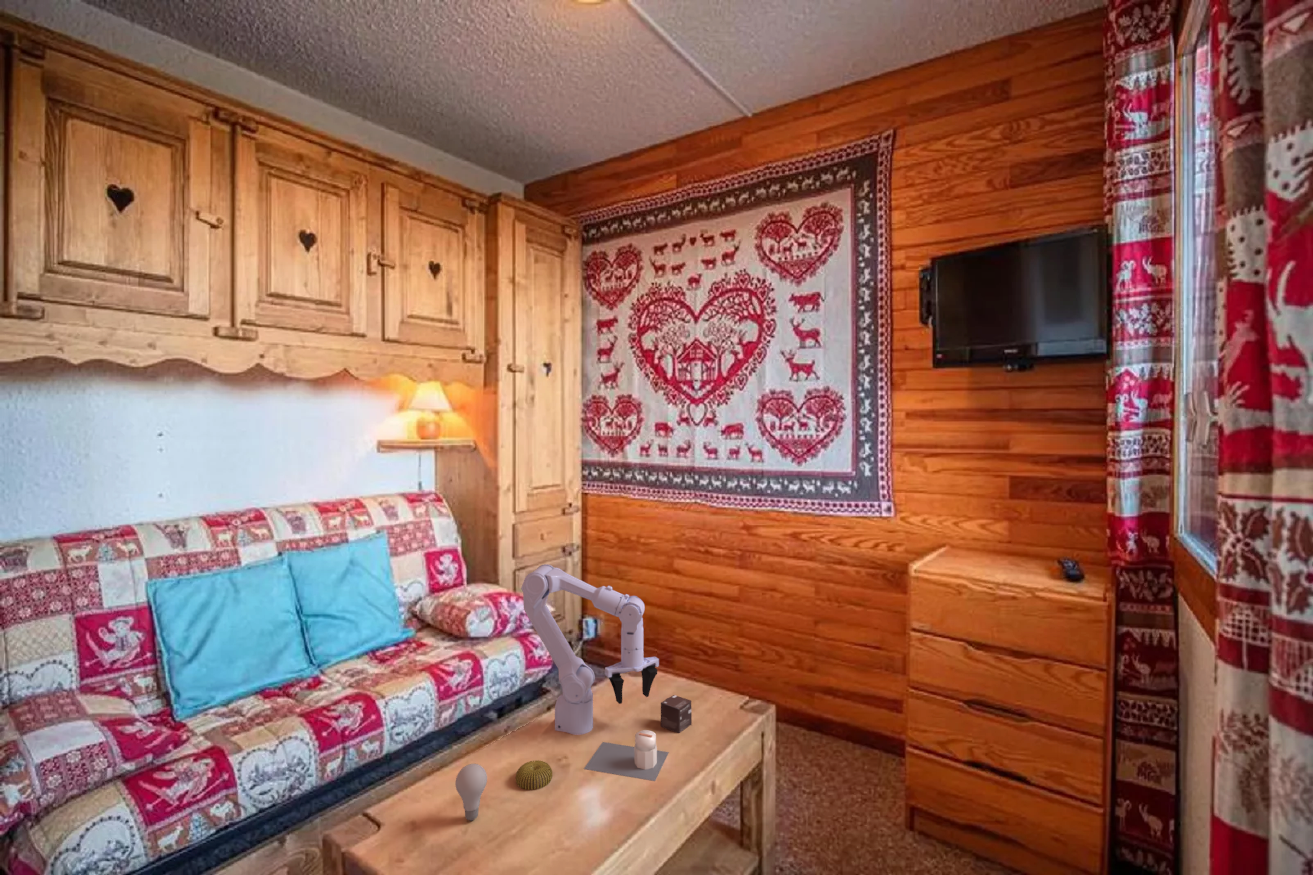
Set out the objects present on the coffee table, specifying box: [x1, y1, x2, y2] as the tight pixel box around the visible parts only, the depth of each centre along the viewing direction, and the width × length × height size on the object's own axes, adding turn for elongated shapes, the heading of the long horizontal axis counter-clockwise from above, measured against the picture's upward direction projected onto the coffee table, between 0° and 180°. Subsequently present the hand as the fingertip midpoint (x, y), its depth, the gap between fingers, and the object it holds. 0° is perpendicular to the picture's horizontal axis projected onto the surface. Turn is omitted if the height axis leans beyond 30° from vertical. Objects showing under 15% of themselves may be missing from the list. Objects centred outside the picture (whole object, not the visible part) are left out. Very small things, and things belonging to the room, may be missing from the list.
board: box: [583, 741, 670, 782], centre depth 140 cm, size 17×12×1 cm
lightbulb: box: [455, 763, 488, 821], centre depth 121 cm, size 6×6×11 cm
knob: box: [633, 729, 658, 770], centre depth 139 cm, size 5×5×7 cm
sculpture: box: [515, 759, 553, 791], centre depth 133 cm, size 8×4×8 cm
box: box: [660, 694, 693, 734], centre depth 156 cm, size 6×6×7 cm
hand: (632, 698), depth 153 cm, fingers open, 7 cm apart
